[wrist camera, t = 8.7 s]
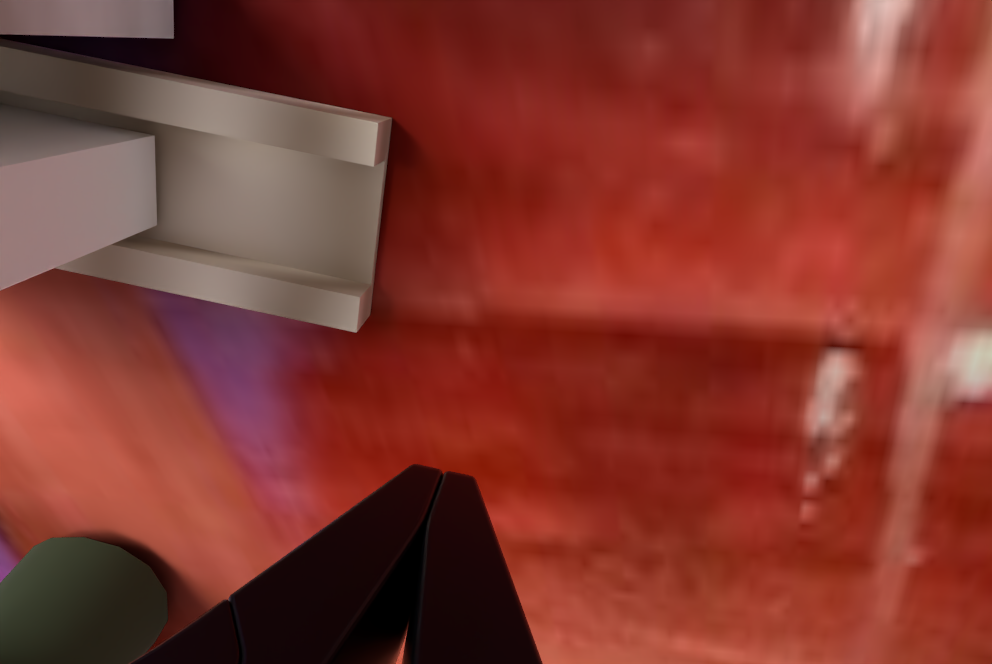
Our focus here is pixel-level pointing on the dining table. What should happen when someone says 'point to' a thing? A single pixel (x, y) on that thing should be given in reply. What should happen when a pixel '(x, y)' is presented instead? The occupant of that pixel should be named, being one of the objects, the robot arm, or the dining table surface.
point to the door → (68, 189)
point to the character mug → (79, 605)
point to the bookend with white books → (216, 170)
